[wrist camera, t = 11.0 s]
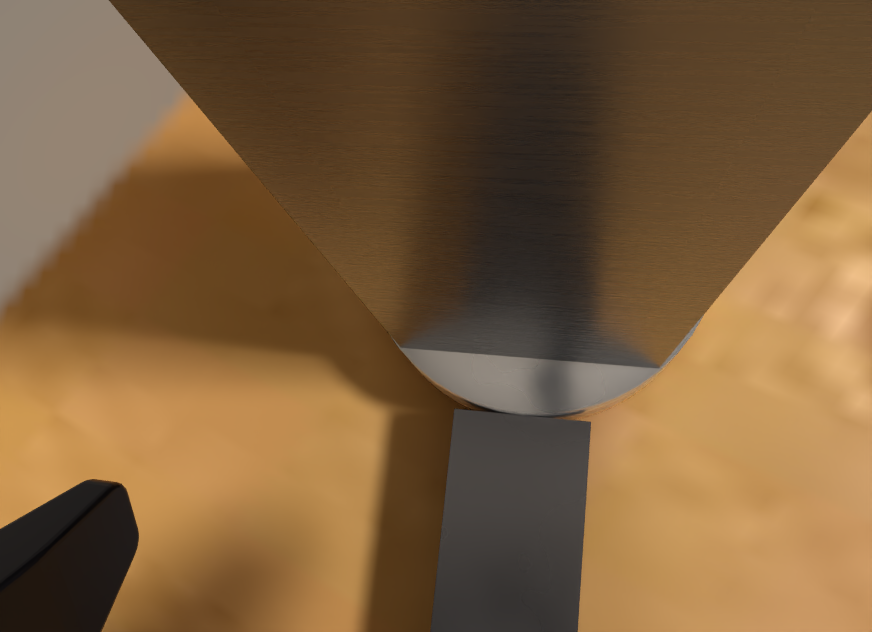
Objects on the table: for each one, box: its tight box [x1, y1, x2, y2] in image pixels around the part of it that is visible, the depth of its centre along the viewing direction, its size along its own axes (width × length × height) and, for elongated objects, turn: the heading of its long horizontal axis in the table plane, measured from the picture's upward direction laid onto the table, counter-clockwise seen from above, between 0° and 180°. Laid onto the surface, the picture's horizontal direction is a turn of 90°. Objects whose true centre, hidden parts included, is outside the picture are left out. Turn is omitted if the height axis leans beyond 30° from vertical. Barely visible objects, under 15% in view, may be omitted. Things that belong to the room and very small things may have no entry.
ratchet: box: [392, 316, 703, 632], centre depth 16 cm, size 19×8×4 cm, turn 174°
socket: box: [109, 0, 872, 369], centre depth 11 cm, size 6×6×12 cm
